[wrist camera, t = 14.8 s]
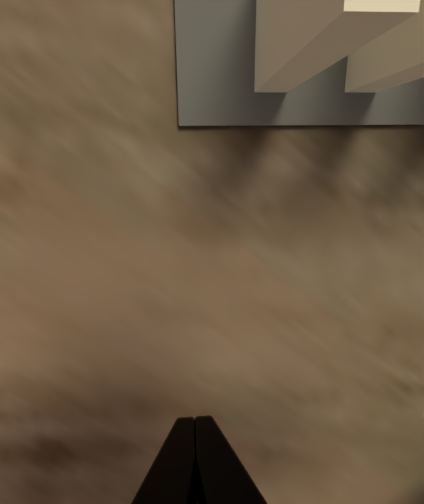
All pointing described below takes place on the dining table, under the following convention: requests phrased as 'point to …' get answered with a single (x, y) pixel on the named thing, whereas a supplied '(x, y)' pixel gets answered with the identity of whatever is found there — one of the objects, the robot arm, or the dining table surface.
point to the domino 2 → (389, 58)
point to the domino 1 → (316, 35)
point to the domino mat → (243, 75)
